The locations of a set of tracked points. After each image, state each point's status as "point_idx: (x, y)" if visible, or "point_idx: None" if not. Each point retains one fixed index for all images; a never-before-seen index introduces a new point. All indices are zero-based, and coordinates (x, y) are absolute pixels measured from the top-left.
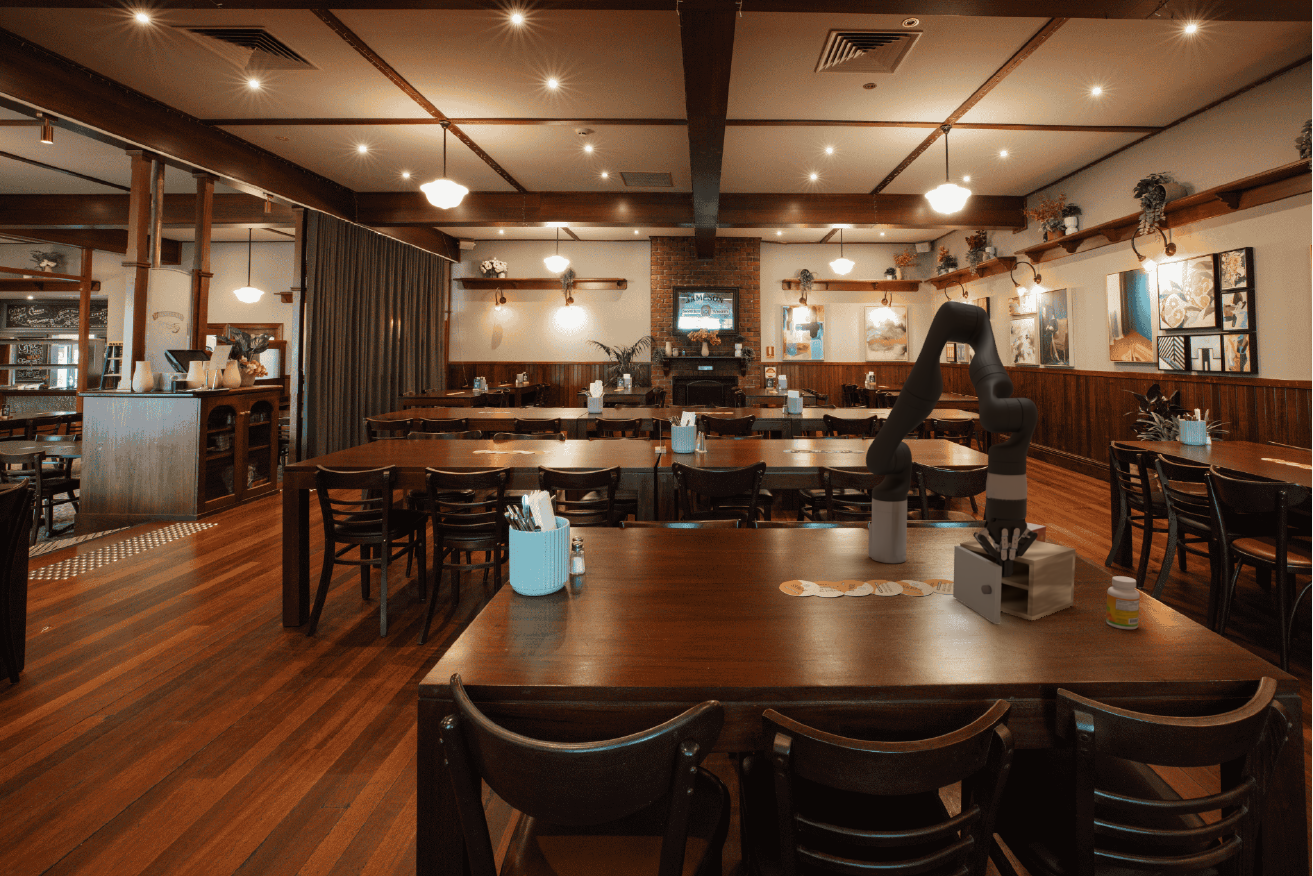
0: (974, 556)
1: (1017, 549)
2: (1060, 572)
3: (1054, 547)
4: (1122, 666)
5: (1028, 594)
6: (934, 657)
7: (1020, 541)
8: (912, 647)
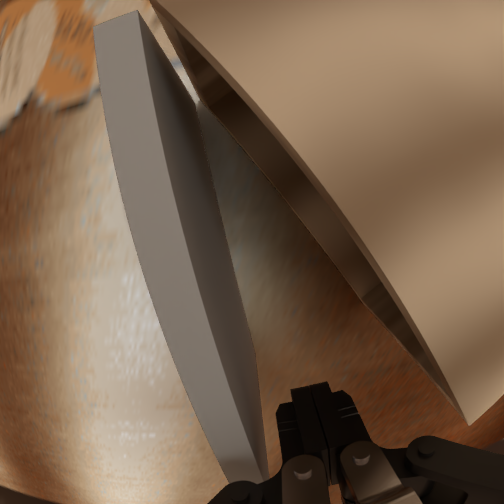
0: (168, 340)
1: (426, 487)
2: None
3: None
4: None
5: (389, 329)
6: (91, 472)
7: (477, 500)
8: (55, 442)
